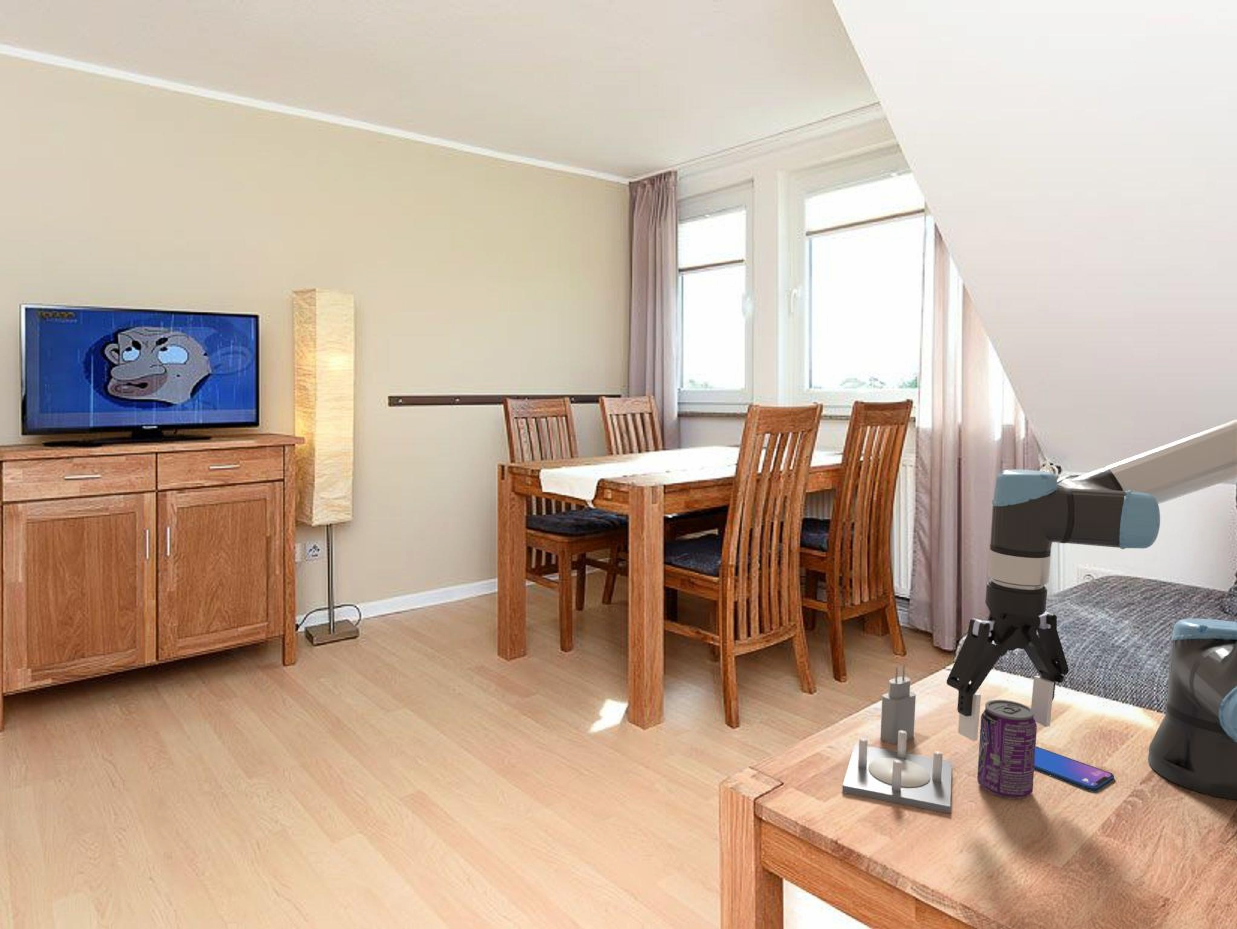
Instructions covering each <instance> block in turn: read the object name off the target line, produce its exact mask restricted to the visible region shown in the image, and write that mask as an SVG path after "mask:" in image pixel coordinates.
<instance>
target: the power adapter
mask: <svg viewBox="0 0 1237 929" xmlns="http://www.w3.org/2000/svg"><path fill="white" fill-rule="evenodd" d="M905 667H906V666H905V664H902V676H898V666H896V667H895V673H894V674H895V675H894V676H895V677H894V678H891V679H889V680H888V692H887V693H884V694H882V698H881V717H880V719H881V720H880V740H882V741H884V742H886V743H889V744H890V745H898V731H900V730H902V731H906V732H907V740H906V742H907V741H909V740H911V739H913V738H914V737H915V717H916V716H915V715H916V698H917V694H916V693H915V692H912V691H910V690H911V679H910V678H909V677H907V676H905V672H906V670H905V669H906V668H905Z"/></svg>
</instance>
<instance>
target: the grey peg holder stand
mask: <svg viewBox="0 0 1237 929" xmlns="http://www.w3.org/2000/svg"><path fill="white" fill-rule="evenodd" d="M906 740H907V732H906V731H902V730H900V731H898V744H897V750H893V749H886V748H881V747H880V748H879V747H875V746H871V745H870V746H868V743H869V741H868V739H867V738H864V737H861V738H859V739H858V743H855V744H854V745H853V750H852V753H851V756H850V760H849V763H848V766H847V770H846V771H845V777H844V779H843V783H842V788H841V789H842V790H841V791H842V793H846V794H849V795H850V794H851V795H855V796H861V797H865V798H871V799H875V800H881V801H886V802H890V803H894V804H901V805H905V806H909V807H915V808H921V809H926V810H929V811H934V812H941V813H945V814H951V797H952V796H951V795H952V770H953V769H952V766H953V764H952V760H949V759H944V758H943V752H941V751H940V750H939V751H938V750H935V751H933V757H930V756H925V755H921V754H914V753H909V752H907V741H908V740H907V741H906Z"/></svg>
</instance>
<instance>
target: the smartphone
mask: <svg viewBox="0 0 1237 929" xmlns="http://www.w3.org/2000/svg"><path fill="white" fill-rule="evenodd" d="M1034 769H1035V770H1034V771H1037V772H1039V771H1040V773H1042V772H1043V773H1042V774H1044V773H1045V775H1047V776H1049V775H1051V776H1050V777H1052V778H1055V779H1057V780H1059V781H1062V782H1065V783H1068V784H1070V785H1072V786H1075V787H1077V788H1080V789H1082V790H1085V791H1088V792H1098V791H1100V790H1102V789H1103V788H1105V787H1106V786H1107V785H1109V784H1110V783H1112V782H1113V781H1115V775H1114V774H1113V773H1112V772H1109V771H1107V770H1105V769H1102V768H1099V767H1096V766H1094V765H1090V764H1087V763H1084V762H1082V761H1079V760H1076V759H1073V758H1071V757H1068V756H1065V755H1062V754H1059V753H1056V752H1053V751H1050V750H1047V749H1045V748H1042V747H1039V746H1037V745H1036V748H1035V763H1034Z"/></svg>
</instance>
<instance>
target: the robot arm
mask: <svg viewBox="0 0 1237 929" xmlns="http://www.w3.org/2000/svg"><path fill="white" fill-rule="evenodd" d="M1236 478H1237V418H1236V419H1234V420H1231V421H1228V422H1224V423H1222V424H1221V425H1217V426H1214V427H1212V428H1209V429H1206V430H1203V431H1201V432H1198V433H1195V434H1192V435H1190V436H1189V435H1188V436H1187V437H1183V438H1181V439H1178V440H1175V441H1173V442H1170V443H1167V444H1165V445H1163V446H1158V447H1156V448H1153V449H1151V450H1148V451H1146V452H1142V453H1140V454H1137V455H1134V456H1131V457H1129V458H1125V459H1123V460H1121V461H1118V462H1115V463H1112V464H1110V465H1107V466H1104V467H1102V468H1099V469H1095V470H1093V471H1090V472H1087V473H1084V474H1082V475H1081V474H1080V475H1079V474H1072V475H1070V474H1069V475H1063V476H1061V477H1059V478H1057V475H1055V473H1053V472H1049V471H1044V470H1043V471H1042V470H1032V469H1019V468H1018V469H1015V468H1013V469H1005V470H1002V471H1001V472H999V473H998V475H997V477H996V478H995V479H996V480H995V485H994V486H995V487H994V494H993V499H992V501H991V502H992V503H991V504H992V510H991V511H992V514H991V530H990V543H989V557H988V558H989V559H988V568H987V569H988V571H987V576H988V577H989V578H990V579H989V580H988V581H987V582H986V587H985V588H986V589H985V602H984V603H985V606H986V607H987V610H988V611H989V615H988V616H987V617H988V618H987V620H981V619H978V618H976V617H971V618H970V620H969V622H968V630H967V634H966V637H965V638H964V641H963V644H962V646H961V648H960V650H959V652H958V654H957V657H956V659H955V662H954V664H953V666H952V668H951V670H950V672H949V675H948V677H947V679H946V684H947V686H949V687H951V688H953V689H955V690H957V691H958V697H957V708H956V710H957V713H958V714H959V716H958V728H957V733H958V734H959V735H961V736H963V737H965V738H966V739H969V740H970V741H972V742H977V741H978V737H979V726H980V713H981V701H982V700H981V698H982V694H981V693H979V692H977V691H978V690H979V689H980V687H981V685H982V684H983V683H984V681H985V679H986V678H987V677H988V675H989V674H990V672H991V671H992V669H993V668H994V666H995V665H996V664H997V662H998V660H999V659H1000V657H1003V656H1005V655H1006V654H1007V653H1008V652H1011V651H1015V650H1017V649H1018V650H1024V652H1025V653H1026V655H1027V656H1028V658H1029V660H1030V661H1031V663H1032V665H1033V666H1034V668H1035V669H1036V671H1037V673H1038V674H1039V675H1034V676H1033V680H1032V681H1033V683H1032V694H1031V707H1030V708H1031V709H1032V710H1033V711H1034V716H1033V717H1034V720H1035V722H1036V724H1039V725H1041V726H1043V727H1046V728H1048V727H1051V720H1052V709H1053V708H1052V707H1053V702H1054V700H1055V690H1056V682H1057V683H1059V684H1062V683H1063V682H1064V680H1065V676H1066V675H1068V674H1069V672H1070V671H1069V670H1070V669H1069V665H1068V662H1067V659H1066V655H1065V652H1064V648H1063V646H1062V642H1061V638H1060V635H1059V632H1058V616H1057V615H1056V614H1054V613H1051V612H1048V611H1046V609H1047V601H1048V600H1047V598H1048V597H1047V596H1048V589H1047V587H1046V585H1047V584H1049V581H1050V580H1049V578H1050V569H1051V568H1050V566H1051V552H1052V544H1053V543H1057V544H1072V545H1083V546H1095V547H1106V548H1107V547H1108V548H1117V549H1119V548H1120V549H1121V550H1125V549H1143V550H1144V549H1147V548H1149V547H1151V546H1152V545H1153V544H1154V543H1155V542H1156V541H1157V538H1158V536H1159V531H1160V528H1161V527H1160V525H1161V512H1160V506H1159V504H1163V503H1166V502H1169V501H1172V500H1174V499H1177V498H1180V497H1182V496H1183V497H1184V496H1186V495H1188V494H1191V493H1194V492H1195V493H1196V492H1198V491H1200V490H1205V489H1206V488H1210V487H1213V486H1215V485H1218V484H1222V483H1224V482H1227V481H1230V480H1233V479H1236ZM1171 636H1172V637H1171V638H1170V640H1169V641H1170V643H1171V644H1170V645H1171V647H1170V659H1169V669H1168V670H1169V671H1168V681H1167V682H1168V683H1167V684H1168V685H1167V696H1166V697H1167V698H1166V709H1165V710H1166V711H1165V715H1164V717H1163V719H1162V721H1161V722H1160V725H1159V727H1158V728H1157V730H1156V732H1155V733H1154V736H1153V738H1152V740H1151V741H1150V743H1149V746H1148V756H1147V762H1148V764H1149V766H1150V767H1151V769H1152V770H1154V771H1155V772H1156V773H1157V774H1159V775H1160V776H1161V777H1163V778H1165V779H1167V780H1169V781H1170V782H1172V783H1175V784H1177V785H1180V786H1182V787H1184V788H1187V789H1189V790H1192V791H1195V792H1199V793H1201V794H1204V795H1205V794H1206V795H1210V796H1213V797H1217V798H1218V797H1219V798H1223V799H1230V800H1237V621H1231V620H1225V619H1224V620H1223V619H1222V620H1221V619H1214V618H1213V619H1212V618H1211V619H1210V618H1192V617H1191V618H1183V619H1180V620H1178V621H1177V622H1176V623H1175V624H1174V626H1173V631H1172V635H1171ZM993 642H994V643H993Z"/></svg>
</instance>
